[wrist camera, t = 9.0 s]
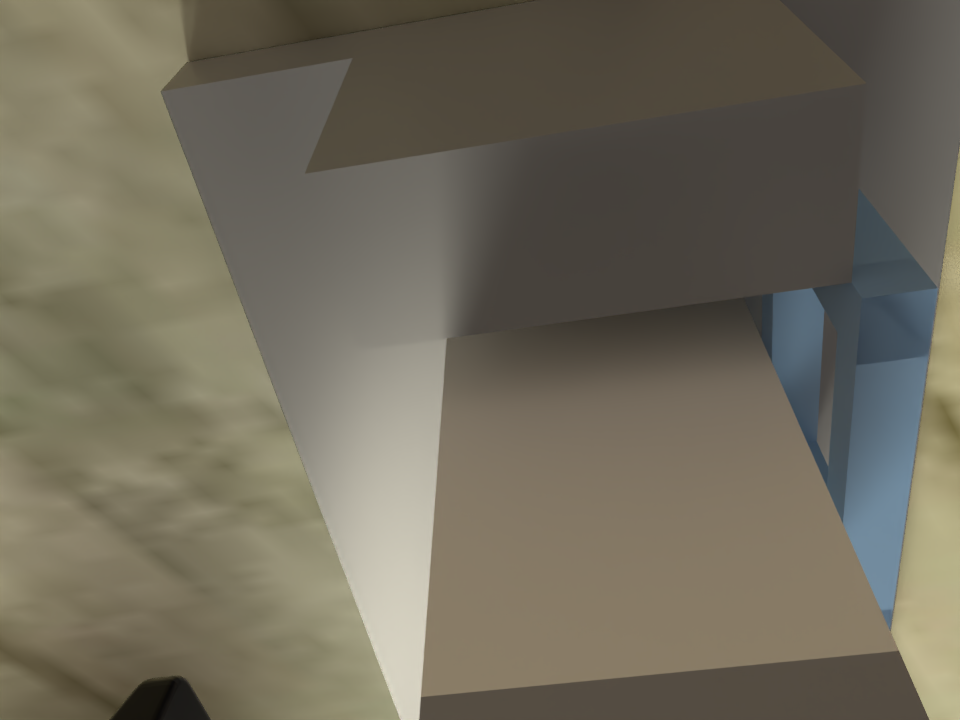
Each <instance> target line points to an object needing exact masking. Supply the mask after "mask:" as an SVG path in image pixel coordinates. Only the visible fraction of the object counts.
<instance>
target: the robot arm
mask: <svg viewBox="0 0 960 720" xmlns="http://www.w3.org/2000/svg"><path fill="white" fill-rule="evenodd" d="M110 720H210V718H209V716H208V714H207V712H206V711H205V709H204V707H203V706H202V704H201V702H200V701H199V699H198V697H197V695H196V694H195V692H194V690H193V689H192V687H191V685H190V684H189V682H188V681H187V680H186V679H185V678H183V677H181V676H170V677H161V678H152V679H148V680H146V681H144V682H142V683H141V684H140V685H139V686H138V687H137V688H136V689H135V690H134V691H133V692H132V693H131V695H130V696H129V697H128V698H127V699H126V700H125V702H124V703H123V704H122V705H121V706H120V708H119V709H118V710H117V711H116V712H115V714H114V715H113V716H112V717H111V718H110Z"/></svg>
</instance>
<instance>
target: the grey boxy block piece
mask: <svg viewBox="0 0 960 720" xmlns="http://www.w3.org/2000/svg"><path fill="white" fill-rule="evenodd" d="M419 720H929V718H928V716H927V714H926V711H925V709H924V707H923V705H922V702H921V700H920V698H919V696H918V693H917V691H916V689H915V686H914V684H913V682H912V680H911V677H910V675H909V673H908V671H907V668H906V666H905V664H904V661H903V659H902V657H901V655H900V652H899V650H898V648H897V646H896V643H895V641H894V639H893V636H892V634H891V632H890V630H889V627H888V625H887V623H886V621H885V618H884V616H883V614H882V611H881V609H880V607H879V605H878V602H877V600H876V598H875V596H874V593H873V591H872V589H871V587H870V584H869V582H868V580H867V577H866V575H865V573H864V571H863V568H862V566H861V564H860V562H859V559H858V557H857V555H856V552H855V550H854V548H853V546H852V543H851V541H850V539H849V537H848V534H847V532H846V530H845V527H844V525H843V523H842V521H841V518H840V516H839V514H838V512H837V509H836V507H835V505H834V502H833V500H832V498H831V496H830V493H829V491H828V489H827V487H826V484H825V482H824V480H823V477H822V475H821V473H820V471H819V468H818V466H817V464H816V462H815V459H814V457H813V455H812V452H811V450H810V448H809V446H808V443H807V441H806V439H805V437H804V434H803V432H802V430H801V427H800V425H799V423H798V421H797V418H796V416H795V414H794V412H793V409H792V407H791V405H790V403H789V400H788V398H787V396H786V393H785V391H784V389H783V387H782V384H781V382H780V380H779V378H778V375H777V373H776V371H775V368H774V366H773V364H772V362H771V359H770V357H769V355H768V353H767V350H766V348H765V346H764V343H763V341H762V339H761V337H760V334H759V332H758V330H757V328H756V325H755V323H754V321H753V318H752V316H751V314H750V312H749V309H748V307H747V305H746V303H745V300H744V298H736V299H729V300H722V301H715V302H708V303H700V304H693V305H686V306H679V307H671V308H664V309H657V310H650V311H642V312H635V313H628V314H621V315H614V316H606V317H599V318H592V319H585V320H577V321H570V322H563V323H556V324H548V325H541V326H534V327H527V328H520V329H512V330H505V331H498V332H491V333H483V334H476V335H469V336H462V337H455V338H447V341H446V355H445V369H444V383H443V397H442V410H441V424H440V438H439V452H438V466H437V480H436V494H435V507H434V521H433V535H432V549H431V563H430V577H429V591H428V605H427V618H426V632H425V646H424V660H423V674H422V688H421V702H420V716H419Z"/></svg>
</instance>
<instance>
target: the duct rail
mask: <svg viewBox="0 0 960 720" xmlns="http://www.w3.org/2000/svg"><path fill="white" fill-rule="evenodd" d="M161 94H162V96H163V99H164V102H165V104H166V107H167V109H168V112H169V115H170V117H171V120H172V123H173V125H174V128H175V130H176V133H177V136H178V138H179V141H180V143H181V146H182V149H183V151H184V154H185V157H186V159H187V162H188V164H189V167H190V170H191V172H192V175H193V178H194V180H195V183H196V185H197V188H198V191H199V193H200V196H201V199H202V201H203V204H204V206H205V209H206V212H207V214H208V217H209V220H210V222H211V225H212V227H213V230H214V233H215V235H216V238H217V240H218V243H219V246H220V248H221V251H222V254H223V256H224V259H225V261H226V264H227V267H228V269H229V272H230V275H231V277H232V280H233V282H234V285H235V288H236V290H237V293H238V296H239V298H240V301H241V303H242V306H243V309H244V311H245V314H246V316H247V319H248V322H249V324H250V327H251V330H252V332H253V335H254V337H255V340H256V343H257V345H258V348H259V351H260V353H261V356H262V358H263V361H264V364H265V366H266V369H267V372H268V374H269V377H270V379H271V382H272V385H273V387H274V390H275V393H276V395H277V398H278V400H279V403H280V406H281V408H282V411H283V413H284V416H285V419H286V421H287V424H288V427H289V429H290V432H291V434H292V437H293V440H294V442H295V445H296V448H297V450H298V453H299V455H300V458H301V461H302V463H303V466H304V469H305V471H306V474H307V476H308V479H309V482H310V484H311V487H312V489H313V492H314V495H315V497H316V500H317V503H318V505H319V508H320V510H321V513H322V516H323V518H324V521H325V524H326V526H327V529H328V531H329V534H330V537H331V539H332V542H333V545H334V547H335V550H336V552H337V555H338V558H339V560H340V563H341V566H342V568H343V571H344V573H345V576H346V579H347V581H348V584H349V586H350V589H351V592H352V594H353V597H354V600H355V602H356V605H357V607H358V610H359V613H360V615H361V618H362V621H363V623H364V626H365V628H366V631H367V634H368V636H369V639H370V642H371V644H372V647H373V649H374V652H375V655H376V657H377V660H378V662H379V665H380V668H381V670H382V673H383V676H384V678H385V681H386V683H387V686H388V689H389V691H390V694H391V697H392V699H393V702H394V704H395V707H396V710H397V712H398V715H399V718H400V720H419V716H420V702H421V688H422V674H423V660H424V646H425V632H426V618H427V605H428V591H429V577H430V563H431V549H432V535H433V521H434V507H435V494H436V480H437V466H438V452H439V438H440V424H441V410H442V397H443V383H444V369H445V355H446V341H447V338H455V337H462V336H469V335H476V334H483V333H491V332H498V331H505V330H512V329H520V328H527V327H534V326H541V325H548V324H556V323H563V322H570V321H577V320H585V319H592V318H599V317H606V316H614V315H621V314H628V313H635V312H642V311H650V310H657V309H664V308H671V307H679V306H686V305H693V304H700V303H708V302H715V301H722V300H729V299H736V298H744V300H745V303H746V305H747V307H748V309H749V312H750V314H751V316H752V318H753V321H754V323H755V325H756V328H757V330H758V332H759V334H760V337H761V339H762V341H763V343H764V346H765V348H766V350H767V353H768V355H769V357H770V359H771V362H772V364H773V366H774V368H775V371H776V373H777V375H778V378H779V380H780V382H781V384H782V387H783V389H784V391H785V393H786V396H787V398H788V400H789V403H790V405H791V407H792V409H793V412H794V414H795V416H796V418H797V421H798V423H799V425H800V427H801V430H802V432H803V434H804V437H805V439H806V441H807V443H808V446H809V448H810V450H811V452H812V455H813V457H814V459H815V462H816V464H817V466H818V468H819V471H820V473H821V475H822V477H823V480H824V482H825V484H826V487H827V489H828V491H829V493H830V496H831V498H832V500H833V502H834V505H835V507H836V509H837V512H838V514H839V516H840V518H841V521H842V523H843V525H844V527H845V530H846V532H847V534H848V537H849V539H850V541H851V543H852V546H853V548H854V550H855V552H856V555H857V557H858V559H859V562H860V564H861V566H862V568H863V571H864V573H865V575H866V577H867V580H868V582H869V584H870V587H871V589H872V591H873V593H874V596H875V598H876V600H877V602H878V605H879V607H880V609H881V611H882V614H883V616H884V618H885V621H886V623H887V625H888V627H889V630H890V632H891V626H892V619H893V612H894V605H895V598H896V591H897V584H898V577H899V570H900V563H901V556H902V549H903V541H904V534H905V527H906V520H907V513H908V506H909V499H910V492H911V485H912V478H913V471H914V464H915V456H916V449H917V442H918V435H919V428H920V421H921V414H922V407H923V400H924V393H925V386H926V379H927V371H928V364H929V357H930V350H931V343H932V336H933V329H934V322H935V315H936V308H937V301H938V294H939V286H940V279H941V272H942V265H943V258H944V251H945V244H946V237H947V230H948V223H949V216H950V208H951V201H952V194H953V187H954V180H955V173H956V166H957V159H958V152H959V145H960V0H536V1H530V2H525V3H519V4H514V5H508V6H502V7H497V8H491V9H485V10H480V11H474V12H468V13H463V14H457V15H451V16H446V17H440V18H435V19H429V20H423V21H418V22H412V23H406V24H401V25H395V26H389V27H384V28H378V29H372V30H367V31H361V32H356V33H350V34H344V35H339V36H333V37H327V38H322V39H316V40H310V41H305V42H299V43H293V44H288V45H282V46H277V47H271V48H265V49H260V50H254V51H248V52H243V53H237V54H231V55H226V56H220V57H214V58H209V59H203V60H198V61H192V62H187V63H186V64H185V65H184V66H183V67H182V68H181V69H180V71H179V72H178V73H177V74H176V75H175V76H174V77H173V78H172V79H171V81H170V82H169V83H168V84H167V85H166V86H165V87H164V88H163V90H162V91H161Z"/></svg>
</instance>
